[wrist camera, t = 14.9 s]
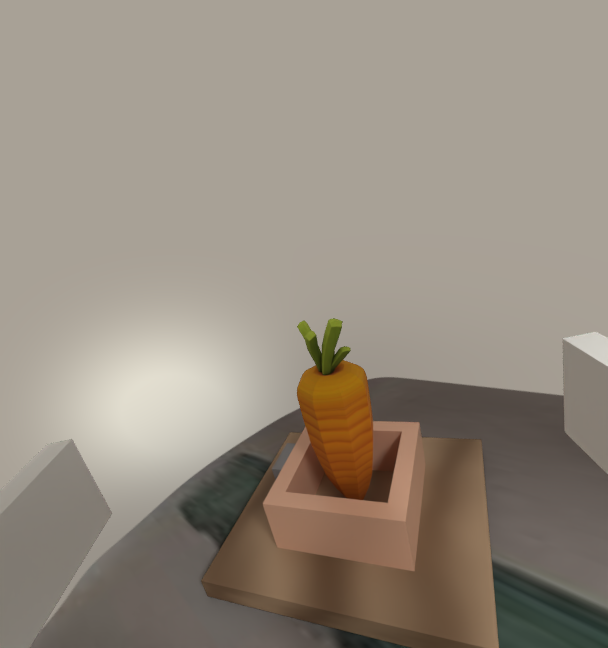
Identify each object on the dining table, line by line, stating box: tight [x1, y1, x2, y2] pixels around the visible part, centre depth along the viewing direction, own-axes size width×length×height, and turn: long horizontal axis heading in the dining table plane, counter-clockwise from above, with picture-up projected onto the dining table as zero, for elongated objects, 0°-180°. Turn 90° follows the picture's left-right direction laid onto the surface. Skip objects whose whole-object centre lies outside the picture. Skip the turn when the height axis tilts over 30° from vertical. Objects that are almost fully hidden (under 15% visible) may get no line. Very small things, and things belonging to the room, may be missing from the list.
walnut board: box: [201, 432, 499, 648], centre depth 29 cm, size 18×16×2 cm
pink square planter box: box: [263, 421, 426, 571], centre depth 29 cm, size 10×9×4 cm
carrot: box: [297, 318, 373, 500], centre depth 27 cm, size 5×5×15 cm
